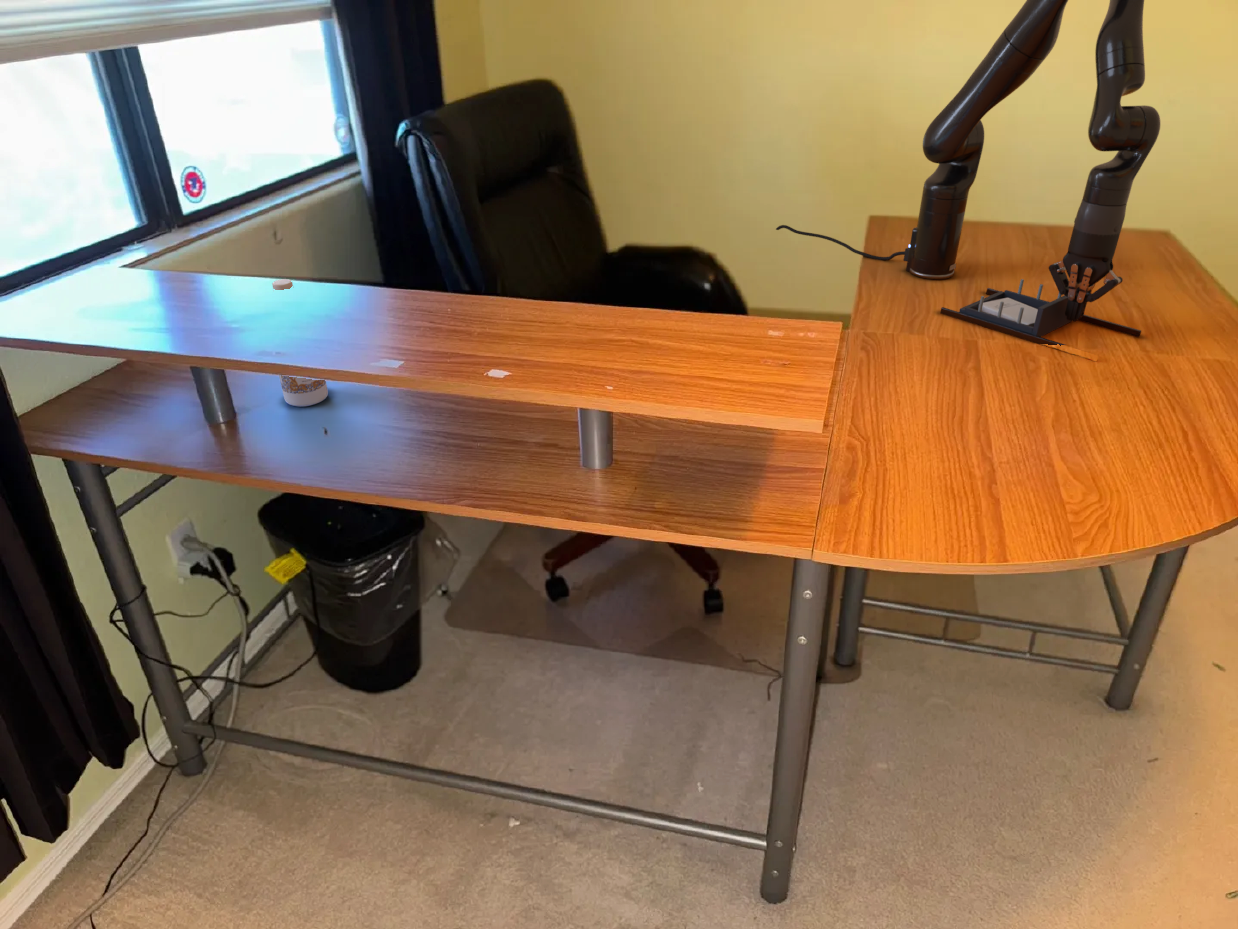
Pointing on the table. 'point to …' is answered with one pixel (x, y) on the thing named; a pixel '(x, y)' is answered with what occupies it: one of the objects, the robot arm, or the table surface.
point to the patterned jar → (300, 388)
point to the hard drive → (1011, 310)
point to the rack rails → (1029, 336)
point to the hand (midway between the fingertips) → (1072, 319)
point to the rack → (1046, 318)
